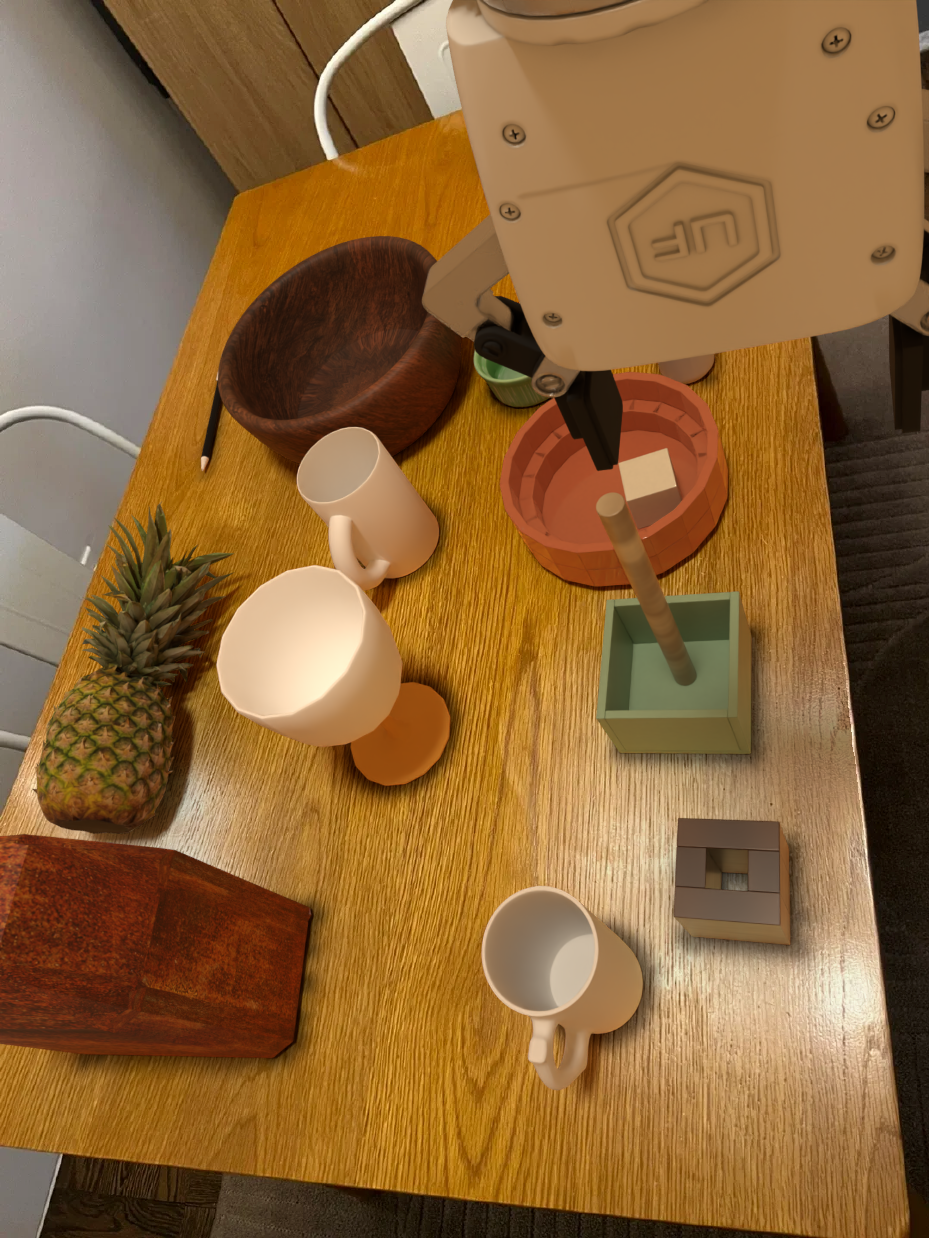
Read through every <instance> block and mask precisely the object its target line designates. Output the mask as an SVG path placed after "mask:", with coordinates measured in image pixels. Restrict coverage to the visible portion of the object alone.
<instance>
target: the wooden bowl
mask: <svg viewBox="0 0 929 1238" xmlns="http://www.w3.org/2000/svg"><path fill="white" fill-rule="evenodd" d="M437 261H438V260H437V259H436V257H434V255H433V254H432V253H431V252H430V251H429V250H428V249H427V248H425V247H424V246H422V244H419V243H418V242H415V241H413V240H410V239H408V238H403V237H398V236H391V235H376V236H366V237H359V238H355V239H351V240H347V241H343V242H341V243H337V244H335V245H332V246H329V247H326V248H325V249H323V250H319V251H318V252H316V253H314V254H312V255H310V256H308V257H306V258H305V259H304V260H302V261H300V262H298V263H297V264H295V265H293V266H292V267H290V268H289V269H288V270H286V271H285V272H283V273H282V274H280V276H278V277H277V278H276V279H274V281H272V282H271V283H270V284H269V285H268V286H267V287H266V288H264V290H263V291H261V293H259V295H257V297H256V298H255V299H254V300H253V301H252V302H251V303H250V305H248V307H247V308H246V310H245V311H244V312H243V314H242V315H241V316H240V317H239V319H238V320H237V322H236V323H235V325H234V327H233V329H232V330H231V332H230V334H229V335H228V338H227V340H226V342H225V345H224V347H223V350H222V352H221V355H222V356H220V360H219V364H218V370H217V374H218V388H219V393H220V396H221V402H222V404H223V406H224V408H226V411H227V413H228V414H229V415H230V416H231V417H232V419H234V420H235V421H236V422H237V423H238V424H239V425H240V426H241V427H242V428H243V429H244V430H246V431H247V432H248V433H249V434H250V435H251V436H253V437H254V438H256V439H257V440H258V441H259V442H261V444H263V445H265V446H266V447H267V448H269V449H270V450H272V451H273V452H275V453H276V454H278V455H280V456H281V457H283V458H285V459H287V460H289V461H291V462H293V463H296V464H298V465H300V464H301V462H302V460H303V458H304V457H305V455H306V454H307V452H308V451H309V450H310V449H311V448H312V447H313V446H314V445H315V444H316V443H317V442H318V441H319V440H321V439H322V438H323V437H325V436H327V435H328V434H330V433H332V432H334V431H337V430H340V429H343V428H348V427H359V428H364V429H366V430H369V431H371V432H372V433H374V434H375V435H376V436H377V437H378V439H379V440H380V441H381V443H382V444H383V446H384V447H385V448H386V450H387V451H388V452H389V454H390V455H391V457H392V458H393V457H394V456H396V455H397V454H399V453H400V452H402V451H404V450H405V449H407V448H408V447H410V446H412V444H414V443H415V442H416V441H417V440H419V439H420V438H421V437H422V436H423V435H424V434H425V433H426V432H427V431H428V430H429V429H430V428H431V427H432V426H433V424H435V422H436V421H437V420H438V418H439V417H440V416H441V414H442V413H443V412H444V410H445V408H446V407H447V406H448V404H449V402H450V400H451V398H452V397H453V394H454V391H455V389H456V386H457V383H458V379H459V374H460V370H461V364H462V337H461V336H460V335H459V334H457V333H456V332H454V331H453V330H452V329H450V328H449V327H448V326H446V325H445V324H444V323H442V322H441V321H439V320H438V319H437V318H435V317H434V316H433V315H431V314H430V313H429V312H427V311H426V310H425V309H424V307H423V305H422V297H423V293H424V288H425V284H426V280H427V276H428V271H429V270H430V268H431V267H432V266H433V265H434V264H435V263H436V262H437Z"/></svg>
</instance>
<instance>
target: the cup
mask: <svg viewBox="0 0 929 1238" xmlns="http://www.w3.org/2000/svg"><path fill="white" fill-rule="evenodd" d="M402 670H403V660H402V657H401V654H400V652H399V649H398V646H397V643H396V640H395V637H394V635H393V632H392V629H391V627H390V625H389V623H388V622H387V621H386V620H385V617H384V616H383V614H382V613H381V612H380V610H379V609H378V607H377V606H376V604H375V603H374V602H373V601H372V600H371V598H370V597H369V596H368V595H367V594H366V592H365V591H363V590H362V589H361V588H360V587H359V586H358V585H357V584H356V583H355V582H354V581H353V580H351V579H350V578H349V577H348V576H347V575H346V574H345V573H344V572H342V571H341V570H337V569H336V568H331V567H327V566H322V565H317V564H313V565H308V566H304V567H303V566H302V567H299V568H293V569H288V570H286V571H284V572H282V573H280V574H279V575H277V576H275V577H273V578H271V579H269V580H268V581H266V582H264V583H263V584H261V585H259V587H257V588H256V590H255V591H253V593H251V594H250V596H248V598H247V599H246V600H244V601H243V602H242V603H241V605H240V606H239V607H238V608H237V609H236V610H235V613H234V614H233V616H232V618H231V620H230V622H229V623H228V625H227V627H226V629H225V631H224V632H223V634H222V635H221V641H220V645H219V651H218V655H217V661H216V671H217V676H218V681H219V687H220V691H221V694H222V696H223V697H224V698H225V699H226V700H227V701H228V703H229V704H230V705H231V706H232V708H233V709H234V710H235V711H236V712H237V713H238V714H239V715H241V716H243V717H244V718H247V719H248V720H250V721H251V722H254V724H257V725H258V726H260V727H262V728H264V729H267V730H269V731H271V732H274V733H276V734H279V735H281V736H283V737H285V738H288V739H291V740H294V741H297V742H300V743H301V744H304V745H308V746H314V747H319V748H326V747H332V746H335V747H336V746H344V745H347V744H350V752H351V755H352V758H353V761H354V766H355V767H356V768H357V769H358V770H359V772H360V773H361V774H362V775H363V776H364V777H365V778H366V779H367V780H368V781H370V782H374V783H376V784H379V785H381V786H385V787H390V786H399V785H407V784H408V783H411V782H412V781H414V780H417V779H418V778H420V777H423V776H424V775H426V773H428V771H429V770H430V769H431V768H432V767H433V766H434V765H435V764H436V763H437V762H438V761H439V760H440V759H441V757H442V755H443V753H444V751H445V748H446V747H447V745H448V741H449V740H450V734H451V733H450V732H451V713H450V711H449V709H448V705H447V703H446V701H445V698H443V697H442V696H441V695H440V694H439V693H438V692H437V691H435V689H434V688H432V687H431V686H430V685H426V684H421V683H419V682H416V681H410V682H402ZM401 682H402V683H401Z"/></svg>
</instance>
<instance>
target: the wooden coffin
mask: <svg viewBox="0 0 929 1238" xmlns="http://www.w3.org/2000/svg"><path fill="white" fill-rule="evenodd" d="M311 916H312V912H311V908H310V906H307V905H305V904H303V903H301V902H298V901H296V900H293V899H291V898H288V897H286V896H284V895H282V894H279V893H277V892H274V891H273V890H270V889H267V888H265V887H263V886H260V885H258V884H256V883H254V882H251V881H249V880H247V879H245V878H242V877H240V876H237V875H235V874H233V873H230V872H229V871H225V870H223V869H221V868H219V867H216V866H214V865H211V864H209V863H207V862H205V861H202V860H200V859H198V858H195V857H193V856H191V855H188V854H186V853H183V852H181V851H179V850H176V849H171V848H164V847H158V846H157V847H156V846H149V845H148V846H147V845H139V844H138V845H137V844H126V843H118V842H117V843H116V842H109V841H108V842H107V841H97V840H89V839H87V840H86V839H77V838H70V837H69V838H68V837H67V838H66V837H59V836H58V837H57V836H47V835H38V834H30V833H29V834H28V833H20V834H9V835H0V1045H7V1046H13V1047H14V1046H15V1047H21V1048H29V1049H38V1050H45V1051H53V1052H62V1053H69V1054H77V1055H97V1056H98V1055H101V1056H103V1055H105V1056H107V1055H108V1056H147V1057H149V1056H153V1057H156V1056H157V1057H202V1058H203V1057H207V1058H248V1059H249V1058H252V1059H254V1058H256V1059H274V1058H275V1057H277V1055H279V1053H281V1052H282V1051H283V1050H285V1048H288V1046H289V1045H291V1044H292V1043H293V1042H294V1038H295V1031H296V1023H297V1015H298V1006H299V998H300V990H301V982H302V974H303V967H304V959H305V951H306V944H307V943H306V942H307V934H308V925H309V921H310V918H311Z"/></svg>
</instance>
